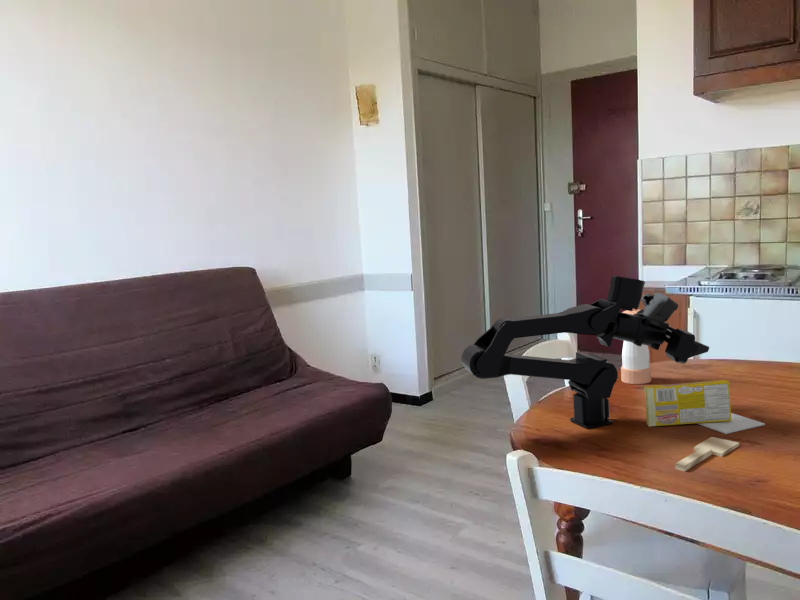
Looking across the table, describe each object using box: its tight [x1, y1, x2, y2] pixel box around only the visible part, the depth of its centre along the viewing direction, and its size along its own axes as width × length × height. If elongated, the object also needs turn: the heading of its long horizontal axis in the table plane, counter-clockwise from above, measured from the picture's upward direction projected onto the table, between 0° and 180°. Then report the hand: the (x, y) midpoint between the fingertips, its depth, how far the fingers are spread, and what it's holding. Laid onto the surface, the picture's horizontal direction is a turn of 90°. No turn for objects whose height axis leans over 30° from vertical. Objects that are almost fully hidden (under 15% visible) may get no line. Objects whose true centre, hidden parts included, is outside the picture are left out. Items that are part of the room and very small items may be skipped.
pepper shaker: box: [620, 308, 652, 385], centre depth 165 cm, size 7×7×19 cm
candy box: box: [643, 379, 732, 428], centre depth 132 cm, size 16×2×8 cm, turn 84°
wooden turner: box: [674, 436, 740, 472], centre depth 116 cm, size 17×5×1 cm, turn 130°
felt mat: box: [695, 412, 766, 435], centre depth 134 cm, size 10×16×1 cm, turn 20°
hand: (695, 342), depth 140 cm, fingers open, 9 cm apart
